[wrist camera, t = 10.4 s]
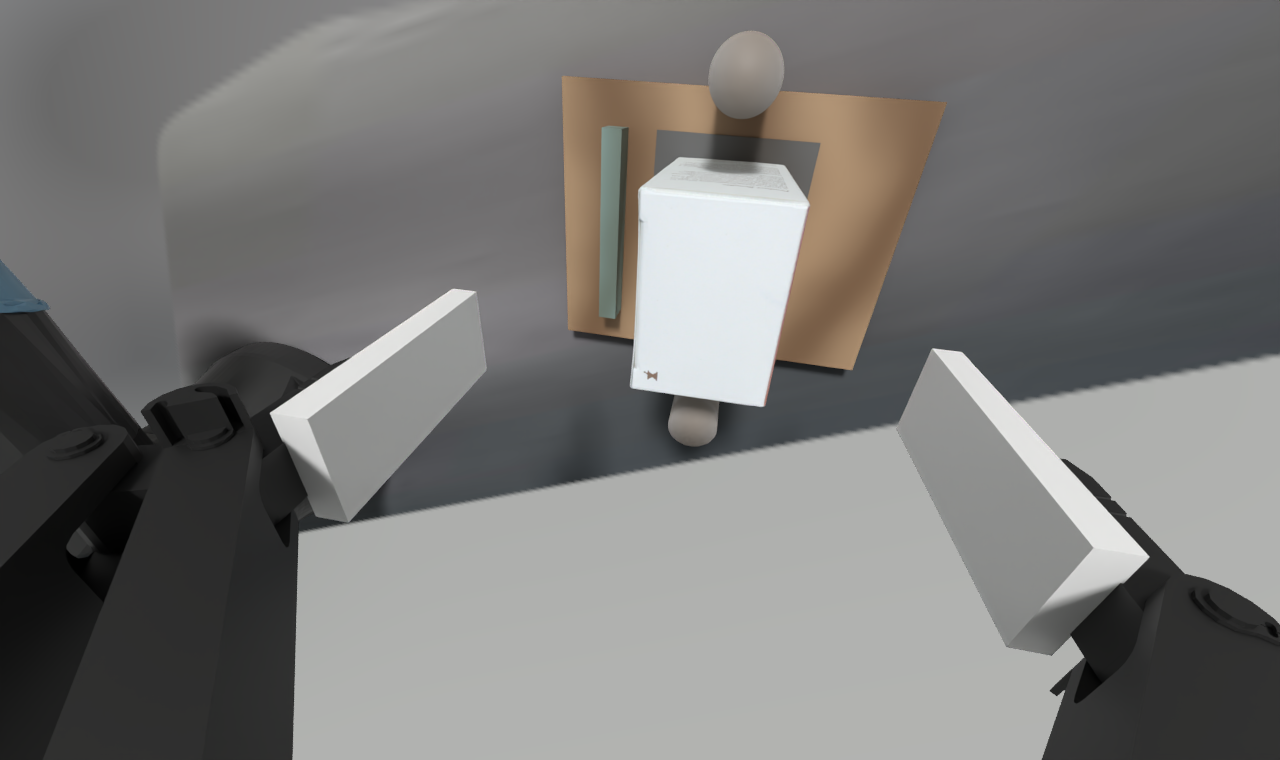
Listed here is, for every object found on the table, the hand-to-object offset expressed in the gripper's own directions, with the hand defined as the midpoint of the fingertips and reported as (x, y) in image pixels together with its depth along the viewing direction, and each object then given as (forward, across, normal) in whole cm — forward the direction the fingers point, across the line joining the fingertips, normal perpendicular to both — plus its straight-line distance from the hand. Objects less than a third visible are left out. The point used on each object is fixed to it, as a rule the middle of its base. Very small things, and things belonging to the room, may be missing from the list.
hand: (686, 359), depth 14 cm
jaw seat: (+15, +1, 0) cm, 15 cm away
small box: (+14, +1, 0) cm, 14 cm away
